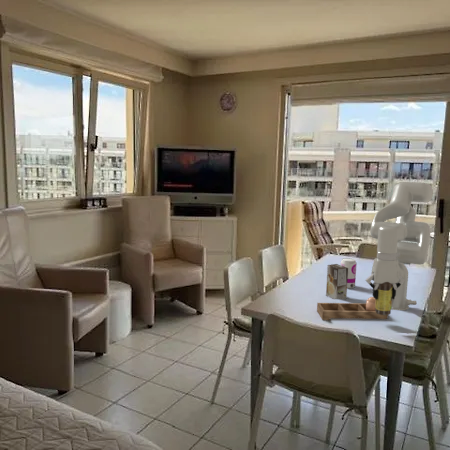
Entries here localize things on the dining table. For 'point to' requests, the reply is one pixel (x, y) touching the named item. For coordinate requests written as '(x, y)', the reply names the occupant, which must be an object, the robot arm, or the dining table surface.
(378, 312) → the sauce bottle
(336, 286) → the coffee box
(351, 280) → the supplement can
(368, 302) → the brown egg
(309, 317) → the dining table surface
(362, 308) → the caddy
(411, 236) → the robot arm
